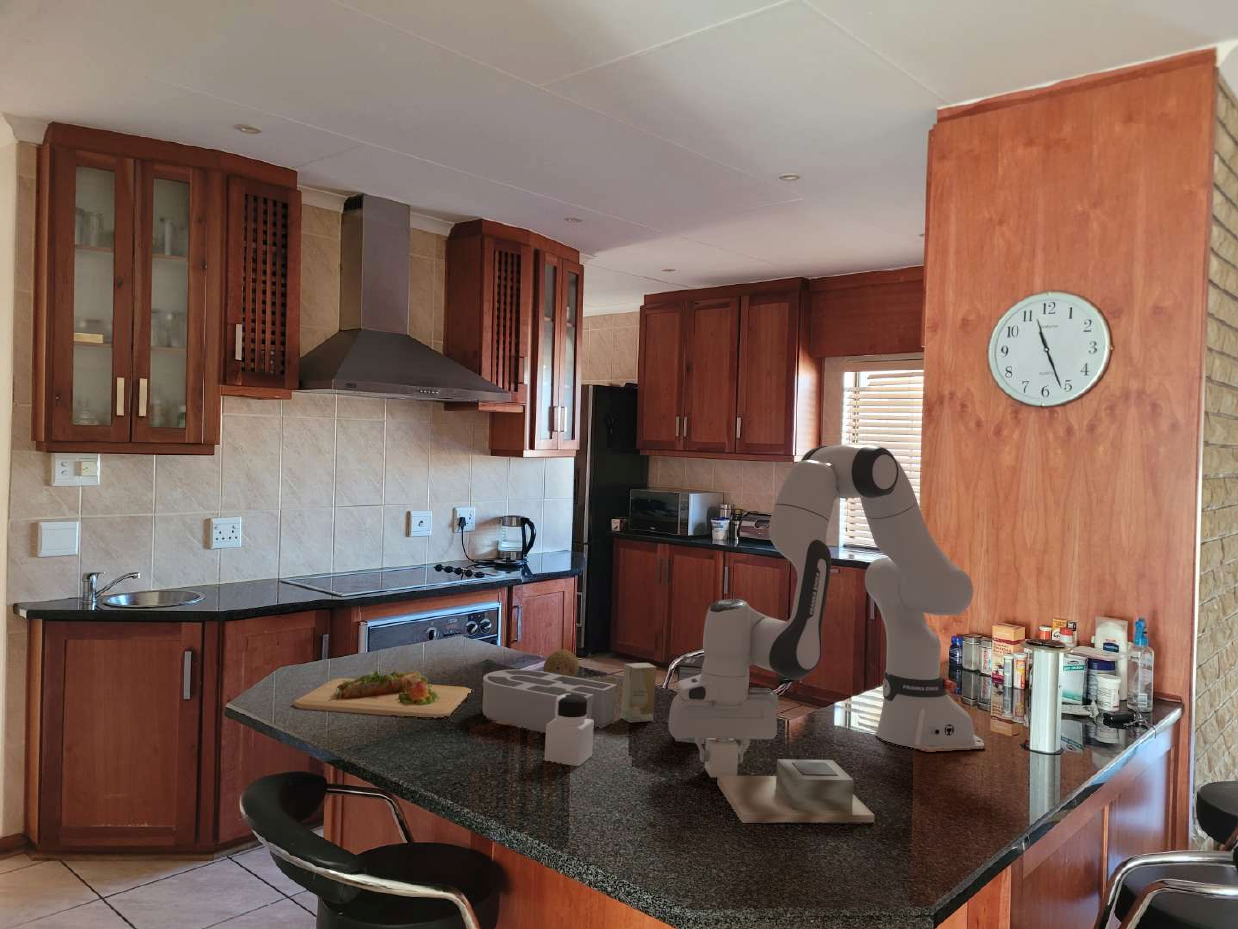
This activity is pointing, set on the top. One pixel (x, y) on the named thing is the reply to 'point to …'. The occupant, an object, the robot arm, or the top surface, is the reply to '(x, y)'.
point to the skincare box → (638, 692)
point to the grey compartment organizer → (542, 697)
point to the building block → (722, 757)
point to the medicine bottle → (569, 732)
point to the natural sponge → (562, 663)
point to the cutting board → (386, 696)
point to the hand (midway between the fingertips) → (721, 761)
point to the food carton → (686, 670)
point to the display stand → (796, 794)
